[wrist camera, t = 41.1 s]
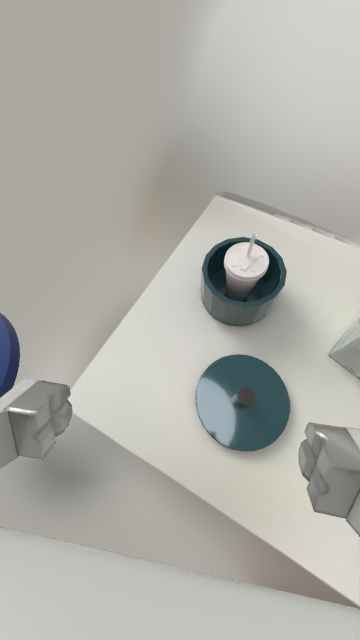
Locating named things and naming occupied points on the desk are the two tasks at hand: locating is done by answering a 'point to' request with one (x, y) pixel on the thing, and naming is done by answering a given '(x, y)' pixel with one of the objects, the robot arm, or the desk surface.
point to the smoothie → (244, 268)
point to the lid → (242, 402)
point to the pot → (258, 296)
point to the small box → (349, 350)
